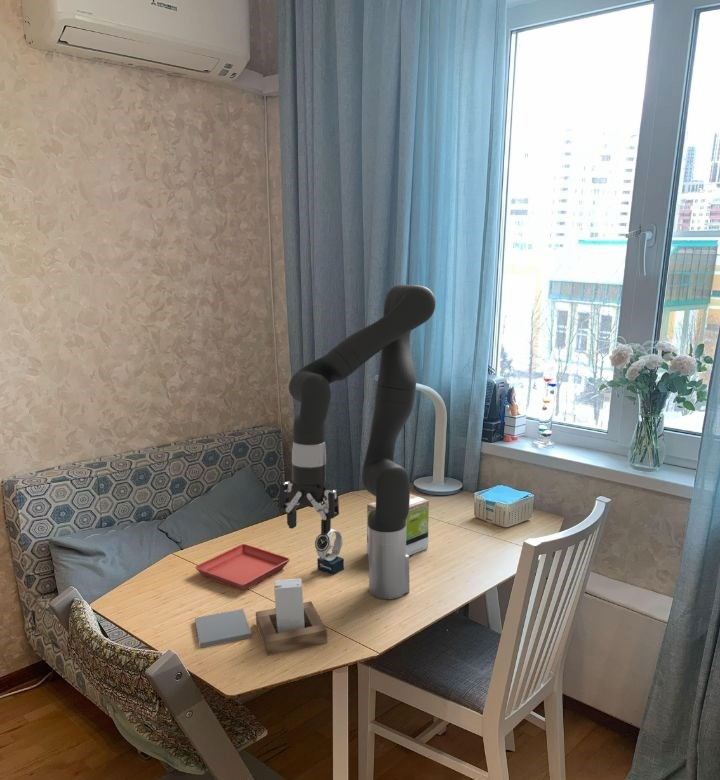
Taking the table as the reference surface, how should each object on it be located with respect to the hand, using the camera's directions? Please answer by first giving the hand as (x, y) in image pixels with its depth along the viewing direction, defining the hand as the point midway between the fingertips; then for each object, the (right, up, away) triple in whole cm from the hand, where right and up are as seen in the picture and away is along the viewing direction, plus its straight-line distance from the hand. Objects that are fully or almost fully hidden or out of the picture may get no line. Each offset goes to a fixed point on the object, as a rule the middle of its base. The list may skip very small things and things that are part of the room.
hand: (308, 530), depth 151 cm
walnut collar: (-4, -22, -3) cm, 23 cm away
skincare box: (-4, -22, -3) cm, 23 cm away
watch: (+4, -16, +26) cm, 31 cm away
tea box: (+22, -14, +37) cm, 45 cm away
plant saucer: (-19, -17, +26) cm, 37 cm away
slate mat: (-19, -22, -1) cm, 29 cm away
